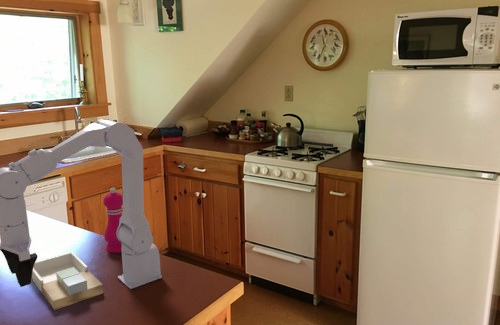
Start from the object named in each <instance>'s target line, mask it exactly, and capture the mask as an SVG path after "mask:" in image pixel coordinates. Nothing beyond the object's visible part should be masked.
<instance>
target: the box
mask: <svg viewBox="0 0 500 325" xmlns="http://www.w3.org/2000/svg"><path fill="white" fill-rule="evenodd" d="M72 267H74V268H75V269H76V270H77V271H78V272H79V273H80V272H83V271H86V270H88V271H89V266H87V264H85V263H84V261H82V260H81V259H80V258H79V257H78V255H76V254H75V253H74V252H73V251H71V252H67V253H63V254H59V255H57V256H53V257H49V258H46V259H42V260H39V261H36V262H35V264H34V267H33V271H32V279H31V281H33V283H34V284H35V285H36V287H37V289H38V290H39V292H41V293H42V288H41V284H44V283H48V282H51V281H54V280H57V276H56V272H58V271H62V270H65V269H68V268H72Z"/></svg>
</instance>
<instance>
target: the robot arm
mask: <svg viewBox="0 0 500 325" xmlns="http://www.w3.org/2000/svg"><path fill="white" fill-rule="evenodd" d="M106 146H108V147H109V148H111V149H112V150H113V151H115V152H116V153H118V155H119V156H120V157H121V184H122V186H121V188H122V196H123V205H122V207H123V212H122V216H121V217H120V223H119V227H118V229H117V238H118V240H119V241H121V242H122V248H121V250H122V252H121V260H122V261H121V262H122V274H121V275H118V276H117V278H118V279H119V281H121V282H122V283H123V284H124V285H125V286H126V287H127V288H129V289H130V290H131V289H132V290H133V289H135V288H138V287H141V286H143V285H146V284H149V283H150V282H154V281H156V280H159V279H162V278H163V276H162V274H161V273H162V272H161V258H160V257H161V255H160V251H159V248H158V247H157V245H156V244H154V236H153V234H152V232H151V227H150V226H151V225H150V223H149V221H148V219H147V217H146V215H145V191H144V190H145V187H144V186H145V185H144V184H145V182H144V175H145V174H144V148H143V146H142V144H141V142H140V141H139V139H138V138H137V135H136V133H135V130H134V129H133V128H132V127H130V126H129V125H127V124H126V123H124V122H118V121H114V120H112V119H108V118H101V119H99V120H97V121H96V122H93V123H90V124H88V125H87V126H85V127H84V128H82V129H81V130H80V131H78V132H76V133H75V134H73V135H72V136H70V137H68V138H67V139H64V140H63V141H62V142H60V143H59V144H57V145H56V146H54V147H52V148H51V149H48V150H47V149H43V148H40V149H37V150H36V149H35V148H32V149H31V150H30V151H29V152H28V153H29V154H28V155H26V156H24V157H23V158H21V159H19V160H17V161H16V162H13V161H11V162H10V163H8V167H0V252H1V253H2V254H3V256H4V258H5V261H6V263H7V266H8V269H9V271H10V273H11V274H12V275H13V274H15V277H16V280H17V283H18V284H19V287H20V288H23V287H26V286H29V285H31V283H32V271H33V267H34V264H35V262H37V259H38V255H37V253H36V252H33V253H31V252H30V247H31V244H32V238H31V235H30V229H29V221H28V213H27V205H26V200H25V196H24V193H25V191H26V189H27V187H29V186H31V185H32V184H34V183H37V182H38V181H39V180H41V179H43V178H45V177H46V176H48V175H50V174H51V173H53V172H55V171H56V168H57V166H58V163H60V162H61V161H63V160H65V159H68V158H70V157H71V156H73V155H76V154H77V153H79V152H81V151H83V150H85V149H87V148H89V147H99V148H106Z"/></svg>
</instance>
